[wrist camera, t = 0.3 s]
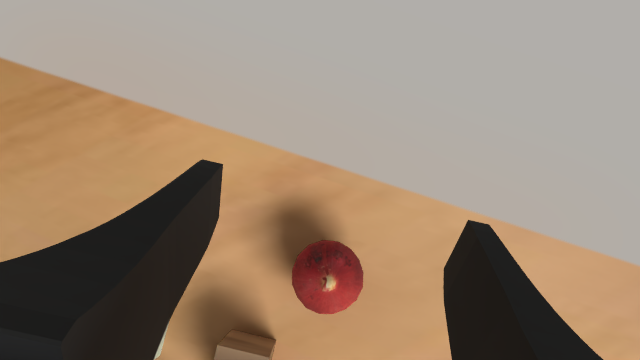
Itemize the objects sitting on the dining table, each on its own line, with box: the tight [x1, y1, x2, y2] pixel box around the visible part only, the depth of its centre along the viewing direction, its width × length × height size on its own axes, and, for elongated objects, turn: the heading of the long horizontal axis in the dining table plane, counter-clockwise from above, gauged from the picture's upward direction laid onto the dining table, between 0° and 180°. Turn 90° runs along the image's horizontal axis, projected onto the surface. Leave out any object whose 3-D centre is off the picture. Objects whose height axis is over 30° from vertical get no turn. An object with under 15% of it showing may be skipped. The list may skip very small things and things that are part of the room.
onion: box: [292, 240, 363, 314], centre depth 38 cm, size 6×6×8 cm
